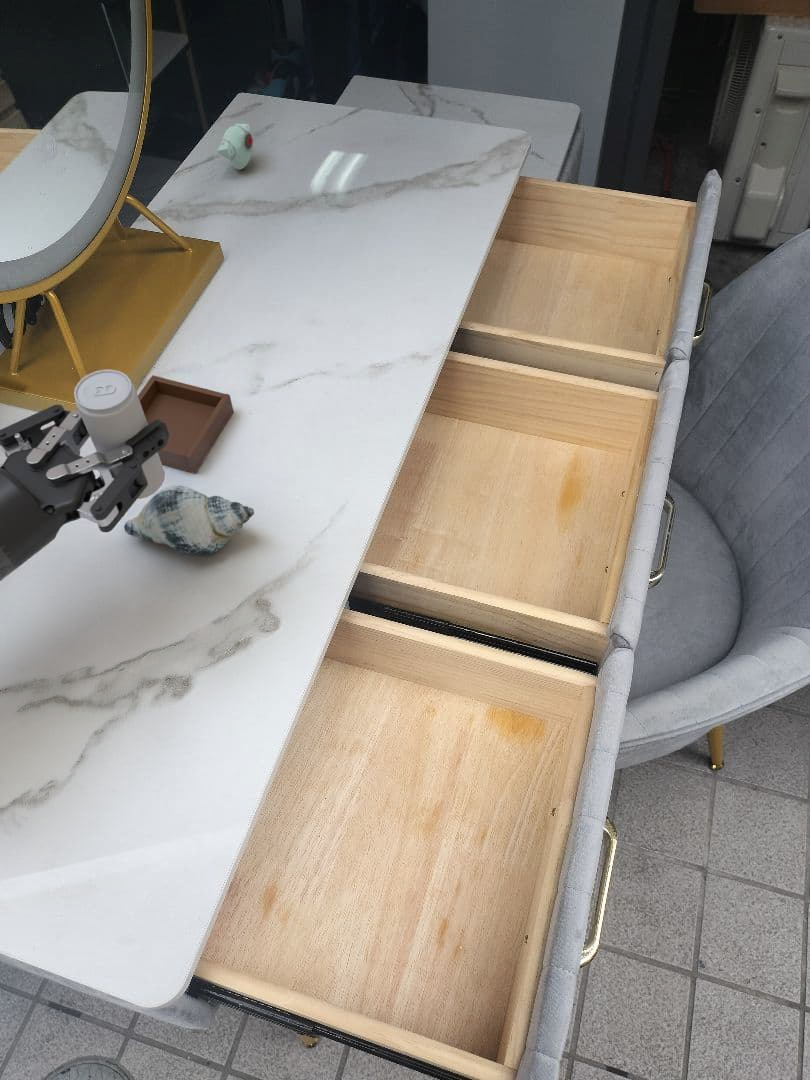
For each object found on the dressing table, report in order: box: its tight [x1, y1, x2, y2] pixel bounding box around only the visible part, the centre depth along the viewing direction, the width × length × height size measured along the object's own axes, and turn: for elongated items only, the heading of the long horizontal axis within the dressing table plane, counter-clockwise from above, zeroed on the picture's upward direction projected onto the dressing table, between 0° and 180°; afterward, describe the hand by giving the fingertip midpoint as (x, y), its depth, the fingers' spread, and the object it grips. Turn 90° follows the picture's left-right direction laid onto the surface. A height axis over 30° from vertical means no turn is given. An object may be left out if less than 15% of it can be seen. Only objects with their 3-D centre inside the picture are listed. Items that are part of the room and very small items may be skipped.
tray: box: [137, 375, 234, 474], centre depth 92 cm, size 10×10×3 cm
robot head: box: [216, 122, 254, 171], centre depth 121 cm, size 8×4×7 cm, turn 159°
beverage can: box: [73, 369, 166, 500], centre depth 71 cm, size 5×5×12 cm
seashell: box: [123, 484, 255, 557], centre depth 83 cm, size 6×8×12 cm
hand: (142, 413), depth 71 cm, fingers closed on beverage can, 4 cm apart
